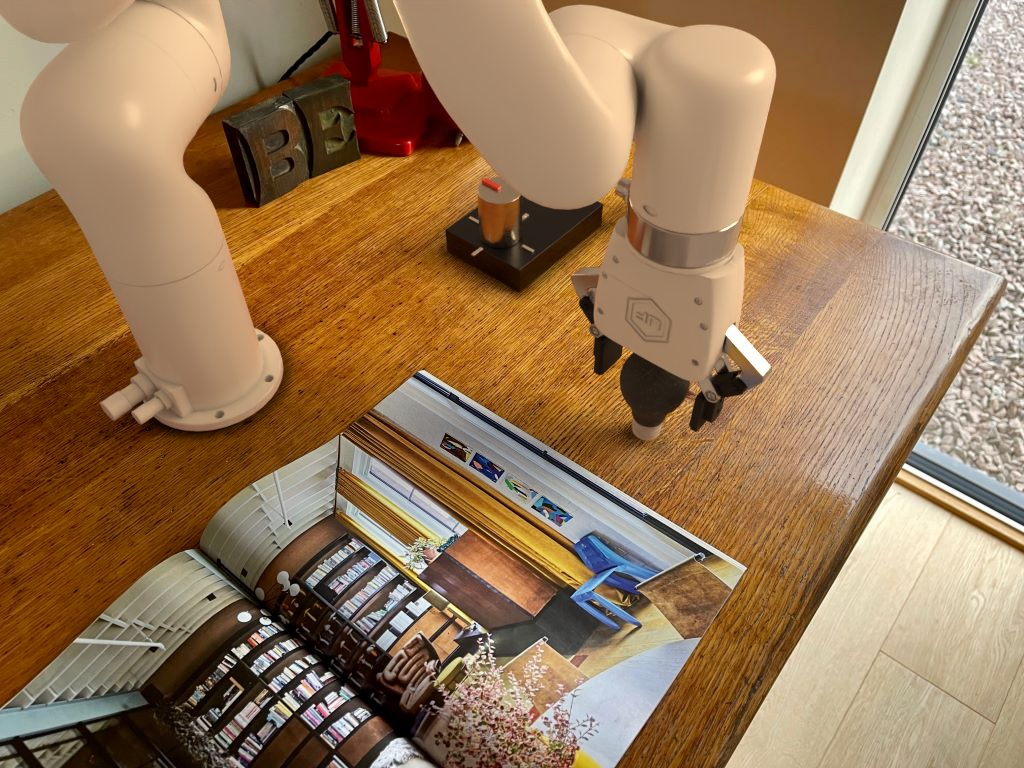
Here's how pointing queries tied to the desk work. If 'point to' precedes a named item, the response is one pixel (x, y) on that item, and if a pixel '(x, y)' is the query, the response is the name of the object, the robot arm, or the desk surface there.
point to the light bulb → (650, 394)
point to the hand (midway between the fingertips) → (653, 391)
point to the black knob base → (525, 242)
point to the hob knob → (499, 213)
